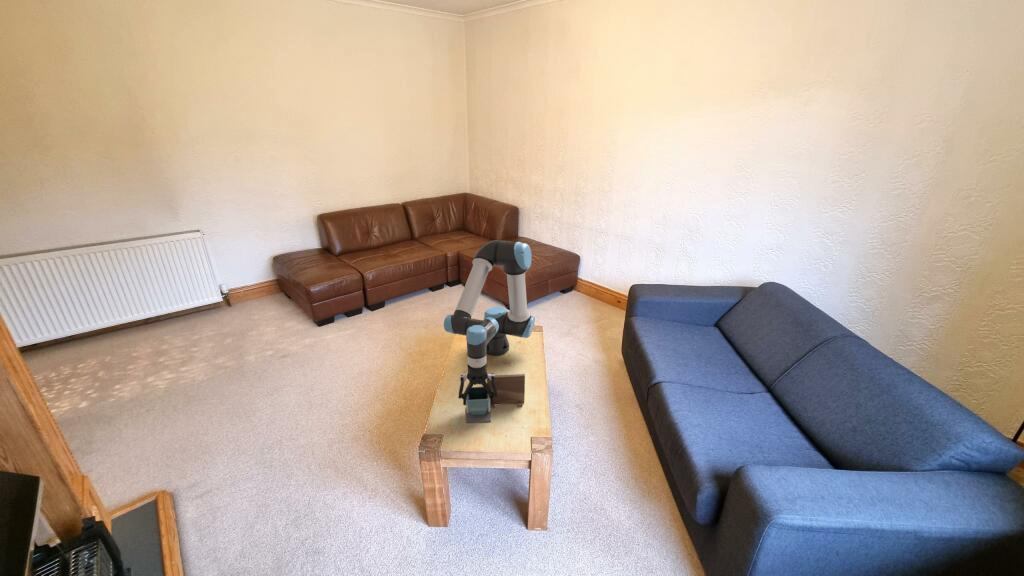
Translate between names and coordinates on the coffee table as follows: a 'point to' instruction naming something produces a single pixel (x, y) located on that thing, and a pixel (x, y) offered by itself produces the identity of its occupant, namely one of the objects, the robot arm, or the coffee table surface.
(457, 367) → the coffee table surface
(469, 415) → the mat
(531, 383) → the coffee table surface
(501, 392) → the screen
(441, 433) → the coffee table surface
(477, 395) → the flower pot
